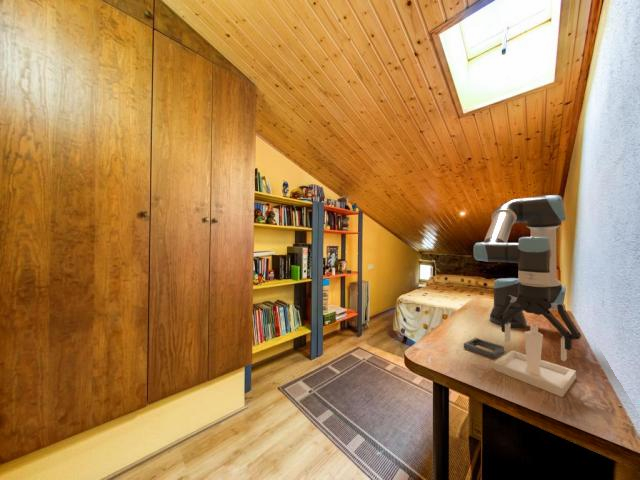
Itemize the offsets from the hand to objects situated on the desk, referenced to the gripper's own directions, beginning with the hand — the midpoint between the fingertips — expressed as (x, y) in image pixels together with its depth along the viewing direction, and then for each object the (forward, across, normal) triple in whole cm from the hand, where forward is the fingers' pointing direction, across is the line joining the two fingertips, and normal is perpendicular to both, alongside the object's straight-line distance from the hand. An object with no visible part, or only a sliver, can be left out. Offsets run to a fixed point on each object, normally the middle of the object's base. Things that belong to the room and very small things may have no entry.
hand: (533, 350), depth 74 cm
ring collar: (+8, -16, +5) cm, 18 cm away
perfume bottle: (+7, 0, 0) cm, 7 cm away
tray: (+8, 0, 0) cm, 8 cm away
